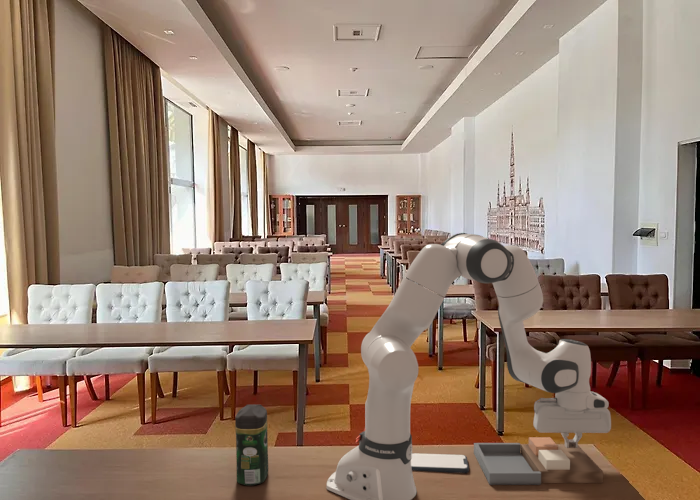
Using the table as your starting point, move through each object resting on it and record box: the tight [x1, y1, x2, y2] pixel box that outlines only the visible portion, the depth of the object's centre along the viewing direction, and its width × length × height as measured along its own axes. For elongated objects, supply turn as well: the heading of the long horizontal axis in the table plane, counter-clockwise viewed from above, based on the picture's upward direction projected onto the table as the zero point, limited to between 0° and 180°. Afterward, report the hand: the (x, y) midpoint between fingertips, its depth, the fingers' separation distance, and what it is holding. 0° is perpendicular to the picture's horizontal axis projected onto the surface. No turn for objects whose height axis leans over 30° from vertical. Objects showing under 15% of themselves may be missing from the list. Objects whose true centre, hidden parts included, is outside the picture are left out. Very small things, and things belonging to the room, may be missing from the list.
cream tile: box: [538, 450, 570, 470], centre depth 142 cm, size 6×6×2 cm
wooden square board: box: [520, 443, 604, 484], centre depth 146 cm, size 16×16×3 cm
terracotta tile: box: [528, 436, 558, 456], centre depth 150 cm, size 6×6×2 cm
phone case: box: [411, 452, 470, 474], centre depth 149 cm, size 9×2×16 cm
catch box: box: [473, 442, 542, 486], centre depth 146 cm, size 13×18×3 cm
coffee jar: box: [234, 404, 269, 487], centre depth 141 cm, size 10×8×19 cm
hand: (571, 447), depth 150 cm, fingers closed
